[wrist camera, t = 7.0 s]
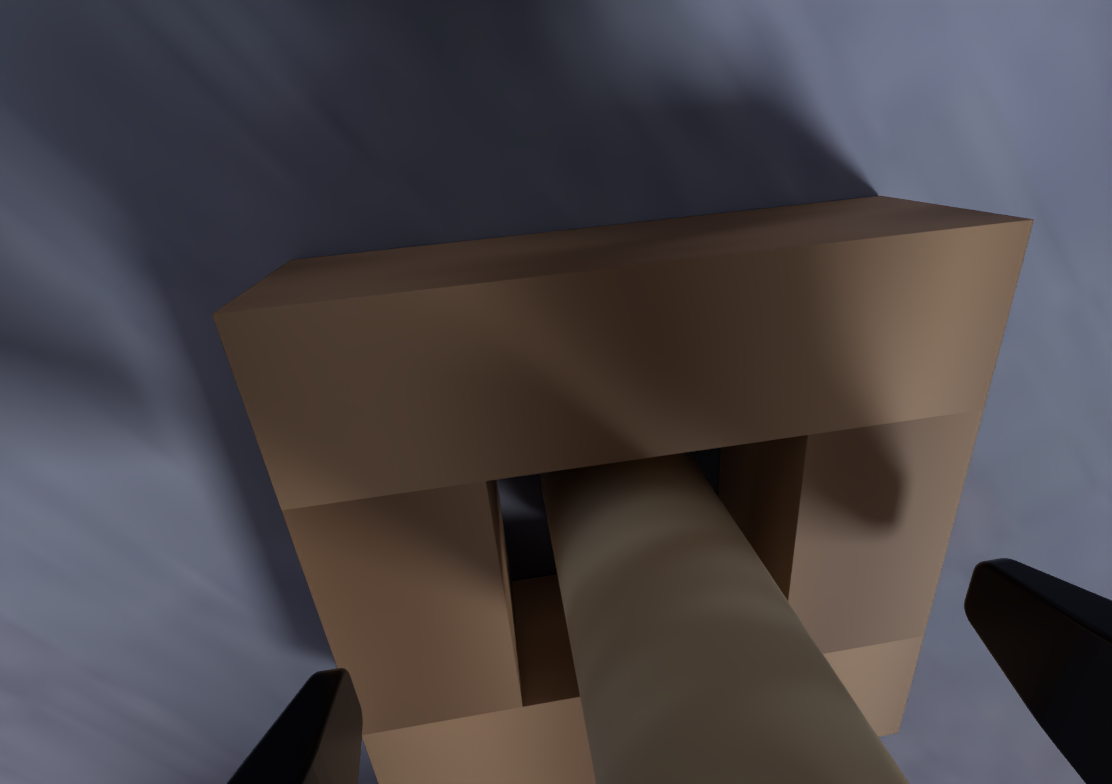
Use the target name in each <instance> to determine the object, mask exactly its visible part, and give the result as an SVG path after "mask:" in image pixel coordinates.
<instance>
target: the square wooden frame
mask: <svg viewBox="0 0 1112 784" xmlns="http://www.w3.org/2000/svg"><path fill="white" fill-rule="evenodd" d="M1033 221H1034V219H1027V218H1021V217H1015V216H1008V215H1002V214H995V213H989V212H982V211H976V210H969V209H963V208H956V207H950V206H943V205H937V204H931V203H924V202H918V201H911V200H905V199H898V198H892V197H885V196H874V197H865V198H856V199H847V200H837V201H828V202H819V203H810V204H801V205H791V206H782V207H773V208H764V209H755V210H745V211H736V212H727V213H718V214H709V215H699V216H690V217H681V218H672V219H663V220H653V221H644V222H635V223H626V224H617V225H607V226H598V227H589V228H580V229H571V230H562V231H552V232H543V233H534V234H525V235H516V236H506V237H497V238H488V239H479V240H470V241H460V242H451V243H442V244H433V245H424V246H414V247H405V248H396V249H387V250H378V251H368V252H359V253H350V254H341V255H332V256H322V257H313V258H304V259H295V260H290V261H288V262H287V263H285V264H284V265H282V266H281V267H280V268H278V269H277V270H275V271H274V272H272V273H271V274H269V275H268V276H266V277H265V278H264V279H262V280H261V281H259V282H258V283H256V284H255V285H253V286H252V287H250V288H249V289H248V290H246V291H245V292H243V293H242V294H240V295H239V296H237V297H236V298H234V299H233V300H232V301H230V302H229V303H227V304H226V305H224V306H223V307H221V308H220V309H218V310H217V311H216V312H214V313H213V314H212V316H213V319H214V322H215V324H216V327H217V330H218V333H219V336H220V338H221V341H222V344H223V347H224V350H225V353H226V355H227V358H228V361H229V364H230V367H231V369H232V372H233V375H234V378H235V381H236V384H237V386H238V389H239V392H240V395H241V398H242V400H243V403H244V406H245V409H246V412H247V414H248V417H249V420H250V423H251V426H252V429H253V431H254V434H255V437H256V440H257V443H258V445H259V448H260V451H261V454H262V457H263V460H264V462H265V465H266V468H267V471H268V474H269V476H270V479H271V482H272V485H273V488H274V491H275V493H276V496H277V499H278V502H279V505H280V507H281V510H282V513H283V516H284V519H285V522H286V524H287V527H288V530H289V533H290V536H291V538H292V541H293V544H294V547H295V550H296V553H297V555H298V558H299V561H300V564H301V567H302V569H303V572H304V575H305V578H306V581H307V583H308V586H309V589H310V592H311V595H312V598H313V600H314V603H315V606H316V609H317V612H318V614H319V617H320V620H321V623H322V626H323V629H324V631H325V634H326V637H327V640H328V643H329V645H330V648H331V651H332V654H333V657H334V660H335V662H336V665H337V668H345V669H346V670H347V671H348V672H349V674H350V676H351V679H352V682H353V685H354V688H355V691H356V694H357V697H358V700H359V702H360V705H361V709H362V717H363V728H362V738H363V741H364V744H365V747H366V750H367V752H368V755H369V758H370V761H371V764H372V767H373V769H374V772H375V775H376V778H377V781H378V783H379V784H596V780H595V774H594V769H593V764H592V758H591V753H590V747H589V742H588V737H587V731H586V726H585V720H584V715H583V710H582V704H581V699H580V693H579V688H578V683H577V677H576V672H575V666H574V661H573V656H572V650H571V645H570V639H569V634H568V629H567V623H566V618H565V612H564V607H563V602H562V596H561V591H560V585H559V580H558V575H557V574H556V575H549V576H543V577H537V578H531V579H524V580H518V581H512V576H511V570H510V563H509V557H508V550H507V544H506V537H505V531H504V524H503V518H502V511H501V505H500V498H499V492H498V485H497V479H504V478H511V477H518V476H525V475H532V474H539V473H546V472H553V471H560V470H567V469H574V468H581V467H588V466H595V465H602V464H608V463H615V462H622V461H629V460H636V459H643V458H650V457H657V456H664V455H671V454H678V453H685V452H692V451H699V450H706V449H713V448H720V447H721V450H720V472H719V495H718V497H719V498H720V500H721V501H722V503H723V504H724V506H725V507H726V509H727V510H728V512H729V513H730V515H731V516H732V518H733V519H734V521H735V522H736V524H737V525H738V527H739V528H740V530H741V531H742V533H743V534H744V536H745V537H746V539H747V540H748V542H749V543H750V545H751V546H752V548H753V549H754V551H755V552H756V554H757V555H758V557H759V558H760V560H761V561H762V563H763V564H764V566H765V567H766V569H767V571H768V572H769V574H770V575H771V577H772V578H773V580H774V581H775V583H776V584H777V586H778V587H779V589H780V590H781V592H782V593H783V595H784V596H785V598H786V599H787V601H788V602H789V604H790V605H791V607H792V608H793V610H794V611H795V613H796V614H797V616H798V617H799V619H800V620H801V622H802V623H803V625H804V626H805V628H806V629H807V631H808V632H809V634H810V635H811V637H812V638H813V640H814V641H815V643H816V644H817V646H818V647H819V649H820V650H821V652H822V653H823V655H824V656H825V658H826V659H827V661H828V662H829V664H830V665H831V667H832V668H833V670H834V671H835V673H836V674H837V676H838V677H839V679H840V680H841V682H842V683H843V685H844V686H845V688H846V689H847V691H848V692H849V694H850V695H851V697H852V698H853V700H854V701H855V703H856V704H857V706H858V707H859V709H860V710H861V712H862V713H863V715H864V716H865V718H866V719H867V721H868V722H869V724H870V725H871V727H872V728H873V730H874V731H875V733H876V734H877V736H878V737H880V736H885V735H890V734H895V733H899V729H900V725H901V721H902V717H903V714H904V710H905V706H906V702H907V698H908V695H909V691H910V687H911V683H912V680H913V676H914V672H915V668H916V664H917V661H918V657H919V653H920V649H921V645H922V642H923V638H924V634H925V630H926V626H927V623H928V619H929V615H930V611H931V607H932V604H933V600H934V596H935V592H936V589H937V585H938V581H939V577H940V573H941V570H942V566H943V562H944V558H945V554H946V551H947V547H948V543H949V539H950V535H951V532H952V528H953V524H954V520H955V517H956V513H957V509H958V505H959V501H960V498H961V494H962V490H963V486H964V482H965V479H966V475H967V471H968V467H969V463H970V460H971V456H972V452H973V448H974V445H975V441H976V437H977V433H978V429H979V426H980V422H981V418H982V414H983V410H984V407H985V403H986V399H987V395H988V391H989V388H990V384H991V380H992V376H993V373H994V369H995V365H996V361H997V357H998V354H999V350H1000V346H1001V342H1002V338H1003V335H1004V331H1005V327H1006V323H1007V319H1008V316H1009V312H1010V308H1011V304H1012V300H1013V297H1014V293H1015V289H1016V285H1017V282H1018V278H1019V274H1020V270H1021V266H1022V263H1023V259H1024V255H1025V251H1026V247H1027V244H1028V240H1029V236H1030V232H1031V228H1032V225H1033Z"/></svg>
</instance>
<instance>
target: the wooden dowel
mask: <svg viewBox="0 0 1112 784" xmlns="http://www.w3.org/2000/svg"><path fill="white" fill-rule="evenodd" d="M541 488H542V494H543V499H544V504H545V510H546V515H547V521H548V526H549V531H550V537H551V542H552V548H553V553H554V558H555V564H556V569H557V575H558V580H559V585H560V591H561V596H562V602H563V607H564V612H565V618H566V623H567V629H568V634H569V639H570V645H571V650H572V656H573V661H574V666H575V672H576V677H577V683H578V688H579V693H580V699H581V704H582V710H583V715H584V720H585V726H586V731H587V737H588V742H589V747H590V753H591V758H592V764H593V769H594V774H595V780H596V784H909V782H908V781H907V779H906V778H905V776H904V775H903V773H902V772H901V770H900V769H899V767H898V766H897V764H896V763H895V761H894V760H893V758H892V757H891V755H890V754H889V752H888V751H887V749H886V748H885V746H884V745H883V743H882V742H881V740H880V739H879V737H878V736H877V734H876V733H875V731H874V730H873V728H872V727H871V725H870V724H869V722H868V721H867V719H866V718H865V716H864V715H863V713H862V712H861V710H860V709H859V707H858V706H857V704H856V703H855V701H854V700H853V698H852V697H851V695H850V694H849V692H848V691H847V689H846V688H845V686H844V685H843V683H842V682H841V680H840V679H839V677H838V676H837V674H836V673H835V671H834V670H833V668H832V667H831V665H830V664H829V662H828V661H827V659H826V658H825V656H824V655H823V653H822V652H821V650H820V649H819V647H818V646H817V644H816V643H815V641H814V640H813V638H812V637H811V635H810V634H809V632H808V631H807V629H806V628H805V626H804V625H803V623H802V622H801V620H800V619H799V617H798V616H797V614H796V613H795V611H794V610H793V608H792V607H791V605H790V604H789V602H788V601H787V599H786V598H785V596H784V595H783V593H782V592H781V590H780V589H779V587H778V586H777V584H776V583H775V581H774V580H773V578H772V577H771V575H770V574H769V572H768V571H767V569H766V567H765V566H764V564H763V563H762V561H761V560H760V558H759V557H758V555H757V554H756V552H755V551H754V549H753V548H752V546H751V545H750V543H749V542H748V540H747V539H746V537H745V536H744V534H743V533H742V531H741V530H740V528H739V527H738V525H737V524H736V522H735V521H734V519H733V518H732V516H731V515H730V513H729V512H728V510H727V509H726V507H725V506H724V504H723V503H722V501H721V500H720V498H719V497H718V495H717V494H716V492H715V491H714V489H713V488H712V486H711V485H710V483H709V482H708V480H707V479H706V477H705V476H704V474H703V473H702V471H701V470H700V468H699V467H698V465H697V464H696V462H695V461H694V459H693V458H692V456H691V455H690V453H689V452H685V453H678V454H671V455H664V456H657V457H650V458H643V459H636V460H629V461H622V462H615V463H608V464H602V465H595V466H588V467H581V468H574V469H567V470H560V471H553V472H546V473H541Z"/></svg>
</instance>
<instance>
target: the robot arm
mask: <svg viewBox="0 0 1112 784" xmlns="http://www.w3.org/2000/svg"><path fill="white" fill-rule="evenodd" d="M964 609H965V613H966V616H967V618H968V620H969V622H970V623H971V625H972V626H973V628H974V629H975V631H976V632H977V634H978V635H979V637H980V638H981V640H982V641H983V643H984V644H985V646H986V647H987V648H988V650H989V651H990V653H991V654H992V656H993V657H994V659H995V660H996V662H997V663H998V665H999V666H1000V668H1001V669H1002V671H1003V672H1004V674H1005V675H1006V677H1007V678H1008V680H1009V681H1010V683H1011V684H1012V686H1013V687H1014V688H1015V690H1016V691H1017V693H1018V694H1019V696H1020V697H1021V699H1022V700H1023V702H1024V703H1025V705H1026V706H1027V708H1028V709H1029V711H1030V712H1031V713H1032V715H1033V716H1034V718H1035V719H1036V720H1037V722H1038V723H1039V725H1040V726H1041V727H1042V729H1043V730H1044V731H1045V732H1046V734H1047V735H1048V736H1049V738H1050V739H1051V740H1052V742H1053V743H1054V744H1055V745H1056V747H1057V748H1058V749H1059V750H1060V752H1061V753H1062V754H1063V755H1064V757H1065V758H1066V759H1067V760H1068V762H1069V763H1070V764H1071V765H1072V767H1073V768H1074V769H1075V770H1076V772H1077V773H1078V774H1079V775H1080V777H1081V778H1082V779H1083V780H1084V782H1085V783H1086V784H1112V600H1109V599H1107V598H1104V597H1102V596H1099V595H1097V594H1095V593H1092V592H1090V591H1087V590H1085V589H1083V588H1080V587H1078V586H1075V585H1073V584H1071V583H1068V582H1066V581H1063V580H1061V579H1059V578H1056V577H1054V576H1051V575H1049V574H1046V573H1044V572H1042V571H1039V570H1037V569H1034V568H1032V567H1030V566H1027V565H1025V564H1022V563H1020V562H1018V561H1015V560H1012V559H1008V558H1001V559H995V560H989V561H983V562H980V563H978V564H977V565H976V566H975V568H974V571H973V574H972V577H971V581H970V584H969V588H968V591H967V594H966V598H965V602H964ZM362 728H363V717H362V709H361V705H360V702H359V700H358V697H357V694H356V691H355V688H354V685H353V682H352V679H351V676H350V674H349V672H348V671H347V670H346V669H345V668H337V669H331V670H325V671H319V672H316V673H315V674H313V675H312V676H311V677H310V678H309V679H308V680H307V682H306V683H305V684H304V685H303V687H302V688H301V689H300V691H299V692H298V693H297V694H296V696H295V697H294V698H293V700H292V701H291V702H290V703H289V705H288V706H287V707H286V708H285V710H284V711H283V712H282V714H281V715H280V716H279V717H278V719H277V720H276V721H275V722H274V724H273V725H272V726H271V728H270V729H269V730H268V731H267V733H266V734H265V735H264V737H263V738H262V739H261V740H260V742H259V743H258V744H257V745H256V747H255V748H254V749H253V751H252V752H251V753H250V754H249V756H248V757H247V758H246V759H245V761H244V762H243V763H242V765H241V766H240V767H239V768H238V770H237V771H236V772H235V773H234V775H233V776H232V777H231V779H230V780H229V781H228V782H227V784H358V775H359V764H360V752H361V740H362Z"/></svg>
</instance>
